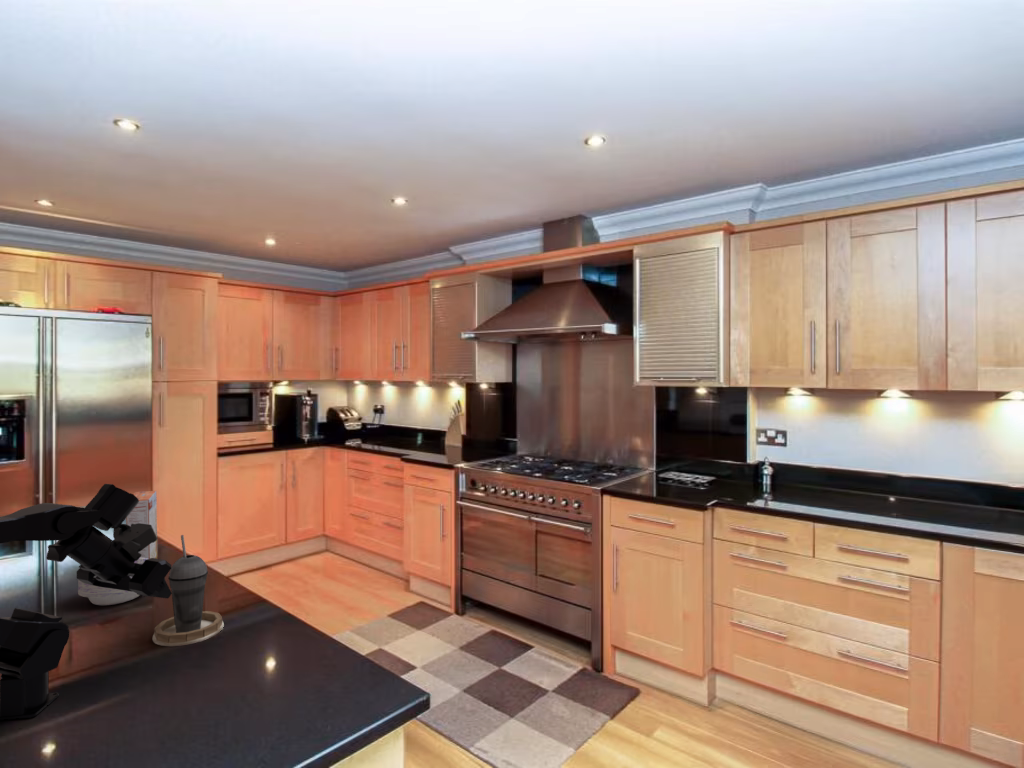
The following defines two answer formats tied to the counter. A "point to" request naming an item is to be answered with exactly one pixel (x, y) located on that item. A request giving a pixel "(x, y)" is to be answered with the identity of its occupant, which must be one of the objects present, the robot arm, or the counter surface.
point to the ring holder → (169, 637)
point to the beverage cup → (188, 591)
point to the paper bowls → (106, 592)
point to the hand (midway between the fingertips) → (152, 592)
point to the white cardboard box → (145, 518)
